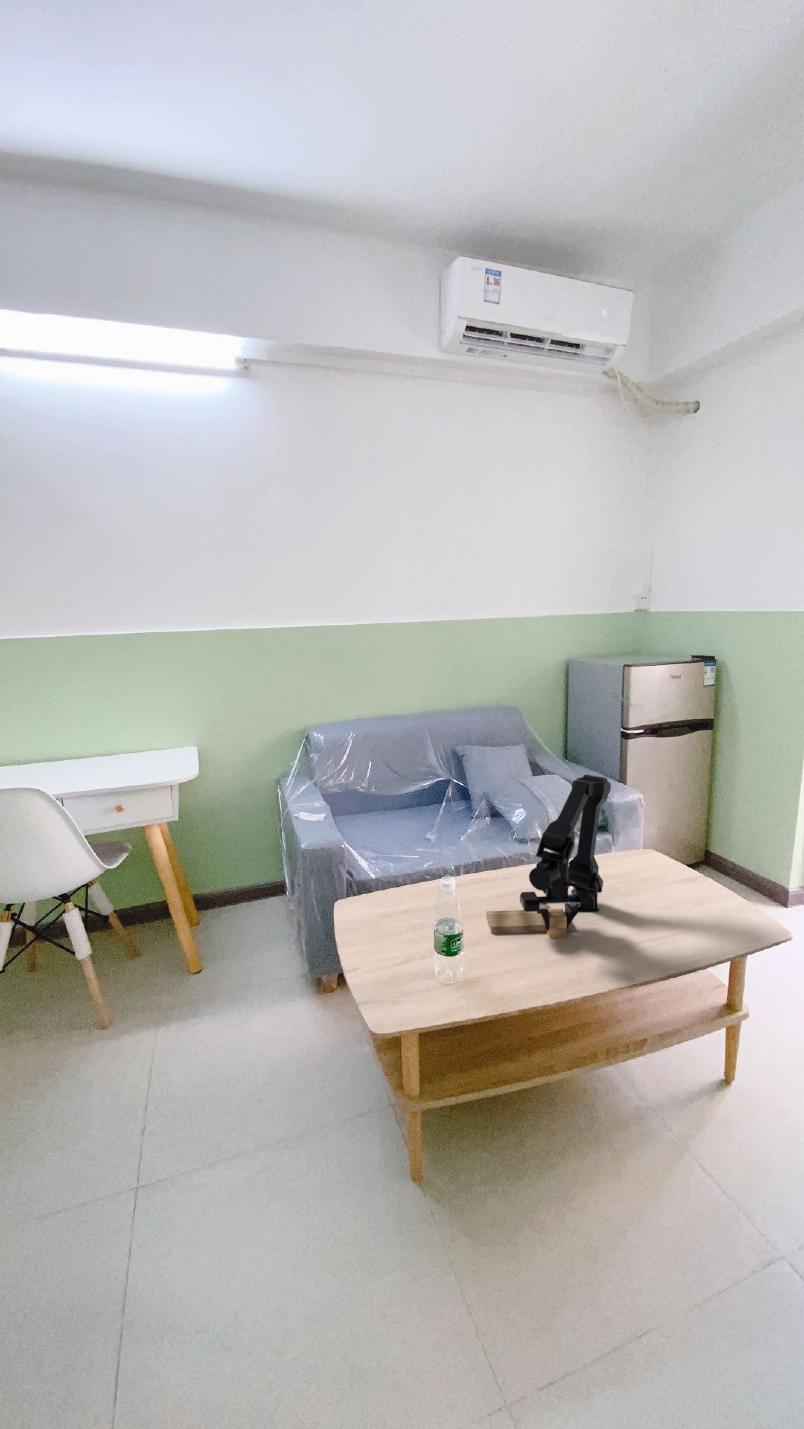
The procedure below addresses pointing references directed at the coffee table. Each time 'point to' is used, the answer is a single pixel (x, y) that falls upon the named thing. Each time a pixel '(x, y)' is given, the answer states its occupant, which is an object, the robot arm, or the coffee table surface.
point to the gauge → (556, 923)
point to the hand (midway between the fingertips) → (556, 929)
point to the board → (517, 921)
